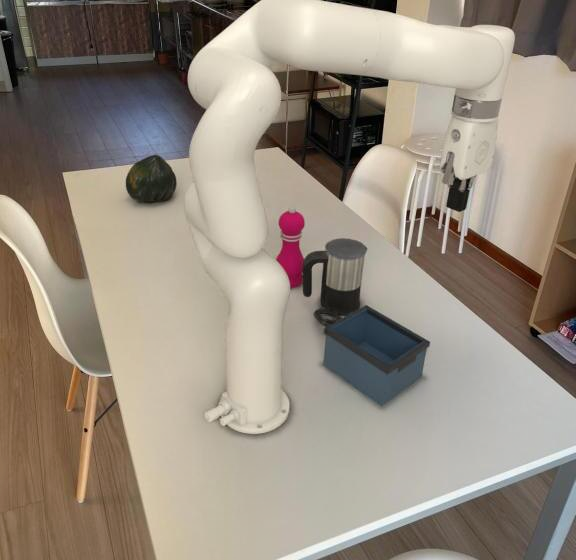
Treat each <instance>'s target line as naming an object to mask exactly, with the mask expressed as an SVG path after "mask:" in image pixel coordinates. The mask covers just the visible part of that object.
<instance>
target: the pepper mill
mask: <svg viewBox="0 0 576 560" xmlns="http://www.w3.org/2000/svg"><path fill="white" fill-rule="evenodd" d="M305 221H306V220H305V217H304V216H303V214H302V213H301V212H298V211H297V208H296V206H294V205H290V206H289V207H288V209H287V211H284V212H283V213H282V214H281V215H280V216H279V218H278V227H279V229H280V239H281V241H282V242H281V243H282V244H281V245H282V246H281V249H280V251H279V253H278V255H277V256H276V258H275V259H276V261H277V262H278V263H279V264H280V265H281V266H282V267H283V269H284V270H285V272H286V274H287V276H288V278H289V282H290V289H293V288H297V287H299V286H301V285H302V284H303V268H302V266H303V260H304V258H305V257H304V255H303V254H302V251H301V248H300V241H301V240H302V238H303V230H304V228H305V226H306V225H305V224H306V223H305Z"/></svg>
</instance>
